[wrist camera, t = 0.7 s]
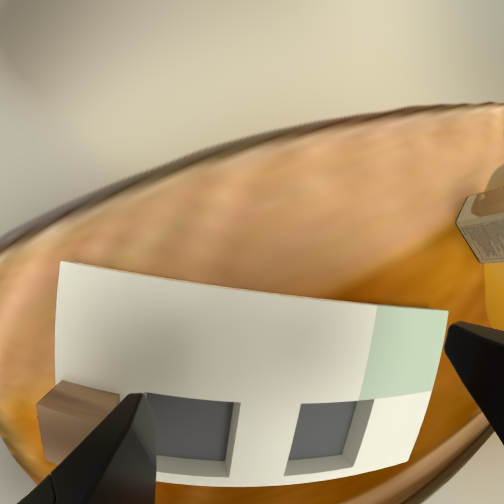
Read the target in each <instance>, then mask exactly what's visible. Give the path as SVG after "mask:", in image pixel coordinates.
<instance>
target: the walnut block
mask: <svg viewBox="0 0 504 504" xmlns="http://www.w3.org/2000/svg"><path fill="white" fill-rule="evenodd" d="M119 403H120V394H116V393H112V392H107V391H103V390H98V389H94V388H90V387H86V386H82V385H79V384H75V383H71V382H68V381H64V380H61V381H60V382H59V383H58V384H57V385H56V386H55V387H54V388H53V389H52V390H51V391H50V392H48V393H47V394H46V395H45V396H44V397H43V398H42V399H41V400H40V401H39V402H38V403H37V404H36V407H37V414H38V421H39V428H40V434H41V440H42V445H43V450H44V455H45V459H46V460H47V461H50V462H52V463H55V464H58V465H59V464H60V463H61V462H62V461H63V460H64V459H65V458H66V457H67V456H68V455H69V454H70V453H71V452H72V451H73V450H74V449H75V448H76V447H77V446H78V445H79V444H80V443H81V442H82V441H83V440H84V439H85V438H86V437H87V435H88V434H89V433H90V432H91V431H92V430H93V429H94V428H95V427H96V426H97V425H98V424H99V423H100V422H101V421H102V420H103V419H104V418H105V417H106V416H107V415H108V414H109V413H110V412H111V411H112V410H113V409H114V408H115V407H116V406H117V405H118V404H119Z"/></svg>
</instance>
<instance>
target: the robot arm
mask: <svg viewBox="0 0 504 504" xmlns="http://www.w3.org/2000/svg"><path fill="white" fill-rule="evenodd" d="M444 350H445V353H446V355H447V357H448V358H449V360H450V362H451V363H452V365H453V367H454V369H455V370H456V372H457V374H458V375H459V377H460V379H461V381H462V382H463V384H464V386H465V387H466V389H467V390H468V392H469V393H470V395H471V396H472V398H473V399H474V400H475V402H476V403H477V405H478V406H479V408H480V409H481V411H482V412H483V414H484V415H485V417H486V418H487V420H488V421H489V423H490V424H491V426H492V427H493V429H494V431H495V432H496V434H497V435H498V437H499V438H500V440H501V441H502V443H503V445H504V331H502V330H497V329H493V328H488V327H484V326H480V325H475V324H471V323H467V322H463V321H458V322H456V323H453V324H451V325H450V326H449V328H448V332H447V337H446V341H445V345H444ZM156 472H157V460H156V431H155V416H154V413H153V411H152V409H151V407H150V404H149V402H148V400H147V398H146V396H145V394H143V393H129V394H128V395H127V396H126V397H125V398H124V399H123V400H122V401H121V402H120V403H119V404H118V405H117V406H116V407H115V408H114V409H113V410H112V411H111V412H110V413H109V414H108V415H107V416H106V417H105V418H104V419H103V420H102V421H101V422H100V423H99V424H98V425H97V426H96V427H95V428H94V429H93V430H92V431H91V432H90V433H89V434H88V435H87V437H86V438H85V439H84V440H83V441H82V442H81V443H80V444H79V445H78V446H77V447H76V448H75V449H74V450H73V451H72V452H71V453H70V454H69V455H68V456H67V457H66V458H65V459H64V460H63V461H62V462H61V463H60V464H59V465H58V466H57V467H56V468H55V469H54V470H53V471H52V472H51V475H50V474H49V475H48V476H47V477H46V478H45V479H44V480H43V481H42V482H41V483H40V484H39V485H38V486H37V487H35V488H34V489H33V490H32V491H31V492H30V493H29V494H28V495H27V496H25V497H24V498H23V499H22V500H21V501H20V502H18V503H17V504H155V488H156Z"/></svg>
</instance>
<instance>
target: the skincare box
mask: <svg viewBox="0 0 504 504" xmlns="http://www.w3.org/2000/svg"><path fill="white" fill-rule="evenodd" d="M456 224H457V226H458V228H459V229H460V231H461V233H462V234H463V236H464V237H465V239H466V240H467V242H468V244H469V245H470V247H471V248H472V250H473V252H474V253H475V255H476V256H477V258H478V260H479V261H480V263H497V262H504V187H501V188H498V189H494V190H490V191H487V192H483V193H479V194H476V195H472V196H469V197H468V198H467V200H466V202H465V204H464V206H463V208H462V210H461V212H460V215H459V217H458V219H457V221H456Z"/></svg>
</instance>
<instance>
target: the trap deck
mask: <svg viewBox="0 0 504 504" xmlns="http://www.w3.org/2000/svg"><path fill="white" fill-rule="evenodd" d="M448 312H449V311H445V310H438V309H431V308H419V307H406V306H394V305H382V304H371V303H361V302H350V301H341V300H331V299H322V298H313V297H304V296H295V295H287V294H278V293H270V292H262V291H255V290H247V289H240V288H232V287H225V286H218V285H211V284H204V283H197V282H191V281H184V280H177V279H171V278H165V277H158V276H152V275H146V274H140V273H134V272H128V271H123V270H117V269H111V268H106V267H100V266H95V265H89V264H84V263H79V262H69V261H61V263H60V271H59V280H58V291H57V303H56V321H55V378H56V385H57V384H58V383H59V382H60V381H61V380H64V381H68V382H71V383H75V384H79V385H82V386H86V387H90V388H94V389H98V390H103V391H107V392H112V393H116V394H120V402H121V401H122V400H123V399H124V398H125V397H126V396H127V395H128V394H129V393H143V394H145V396H146V398H147V400H148V402H149V404H150V407H151V409H152V411H153V413H154V416H155V431H156V460H157V472H156V481H159V482H167V483H175V484H185V485H198V486H218V487H257V486H277V485H289V484H300V483H308V482H316V481H323V480H329V479H335V478H341V477H346V476H352V475H356V474H361V473H365V472H370V471H374V470H378V469H382V468H386V467H389V466H393V465H397V464H400V463H403V462H407V461H408V459H409V456H410V454H411V451H412V449H413V446H414V444H415V441H416V438H417V436H418V433H419V430H420V427H421V424H422V421H423V418H424V415H425V412H426V409H427V406H428V402H429V399H430V396H431V392H432V389H433V385H434V381H435V377H436V373H437V369H438V365H439V360H440V356H441V351H442V346H443V341H444V336H445V331H446V325H447V319H448Z"/></svg>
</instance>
